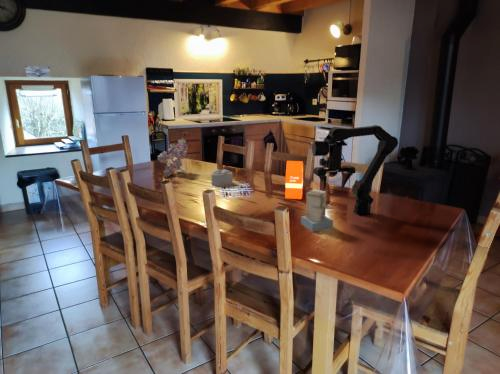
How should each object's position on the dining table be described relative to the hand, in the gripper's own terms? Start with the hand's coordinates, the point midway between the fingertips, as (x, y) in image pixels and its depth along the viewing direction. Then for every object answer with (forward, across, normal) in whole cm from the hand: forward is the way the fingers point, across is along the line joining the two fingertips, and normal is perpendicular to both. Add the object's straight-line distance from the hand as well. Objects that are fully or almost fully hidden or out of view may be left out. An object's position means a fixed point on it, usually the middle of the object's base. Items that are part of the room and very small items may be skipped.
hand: (333, 188), depth 170 cm
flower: (+13, +68, -102) cm, 123 cm away
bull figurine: (+13, +1, -20) cm, 24 cm away
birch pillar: (+9, +13, +11) cm, 20 cm away
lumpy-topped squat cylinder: (+13, +41, -69) cm, 81 cm away
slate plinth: (+14, +13, +11) cm, 22 cm away
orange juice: (+13, +7, -32) cm, 35 cm away
